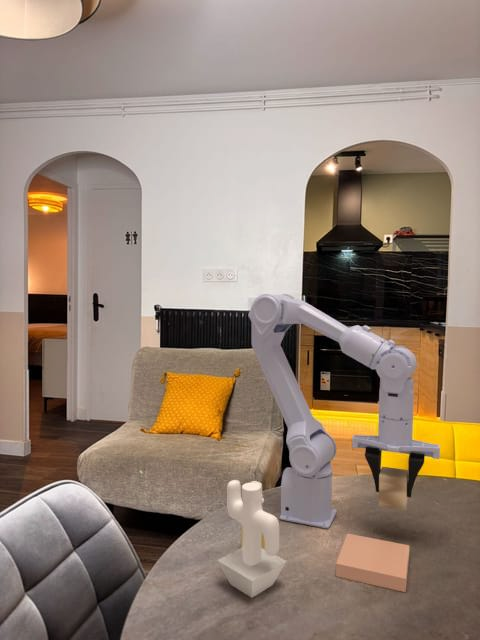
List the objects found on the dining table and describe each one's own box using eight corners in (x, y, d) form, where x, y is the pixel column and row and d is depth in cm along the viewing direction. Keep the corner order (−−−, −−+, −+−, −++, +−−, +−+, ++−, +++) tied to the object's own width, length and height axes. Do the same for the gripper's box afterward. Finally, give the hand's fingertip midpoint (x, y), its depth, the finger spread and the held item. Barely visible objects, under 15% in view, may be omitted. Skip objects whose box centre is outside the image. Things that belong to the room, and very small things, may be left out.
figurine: (257, 611, 64) (258, 501, 63) (211, 581, 70) (212, 481, 70) (292, 588, 69) (293, 487, 68) (246, 562, 75) (247, 469, 75)
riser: (335, 576, 72) (336, 563, 72) (347, 544, 81) (347, 533, 81) (405, 592, 68) (405, 578, 68) (409, 557, 77) (409, 545, 77)
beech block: (378, 506, 83) (379, 475, 82) (381, 496, 87) (381, 466, 86) (406, 510, 81) (406, 478, 81) (407, 500, 85) (408, 469, 85)
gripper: (349, 417, 82) (348, 494, 83) (440, 426, 77) (438, 509, 77) (356, 408, 89) (354, 479, 89) (440, 416, 83) (437, 492, 84)
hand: (393, 492), depth 84 cm, fingers closed on beech block, 4 cm apart
